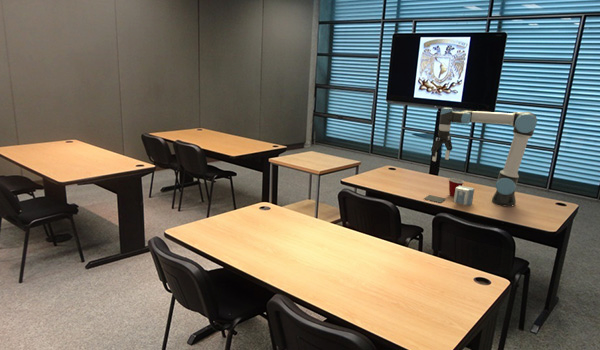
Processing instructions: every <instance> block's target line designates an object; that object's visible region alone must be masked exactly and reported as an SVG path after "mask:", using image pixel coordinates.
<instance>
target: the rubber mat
mask: <svg viewBox="0 0 600 350" xmlns="http://www.w3.org/2000/svg"><path fill="white" fill-rule="evenodd" d="M424 199H425V200H424ZM445 199H446V200H447V198H446V197H441V196H437V195H432V194H428V195H426V196H425V197H424V198H423V200H424V201H428V200H430V201H429V202H433V201H434V202H433V203H437V202H438V203H437V204H442V203H443V202H444V201H446V200H445Z"/></svg>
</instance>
